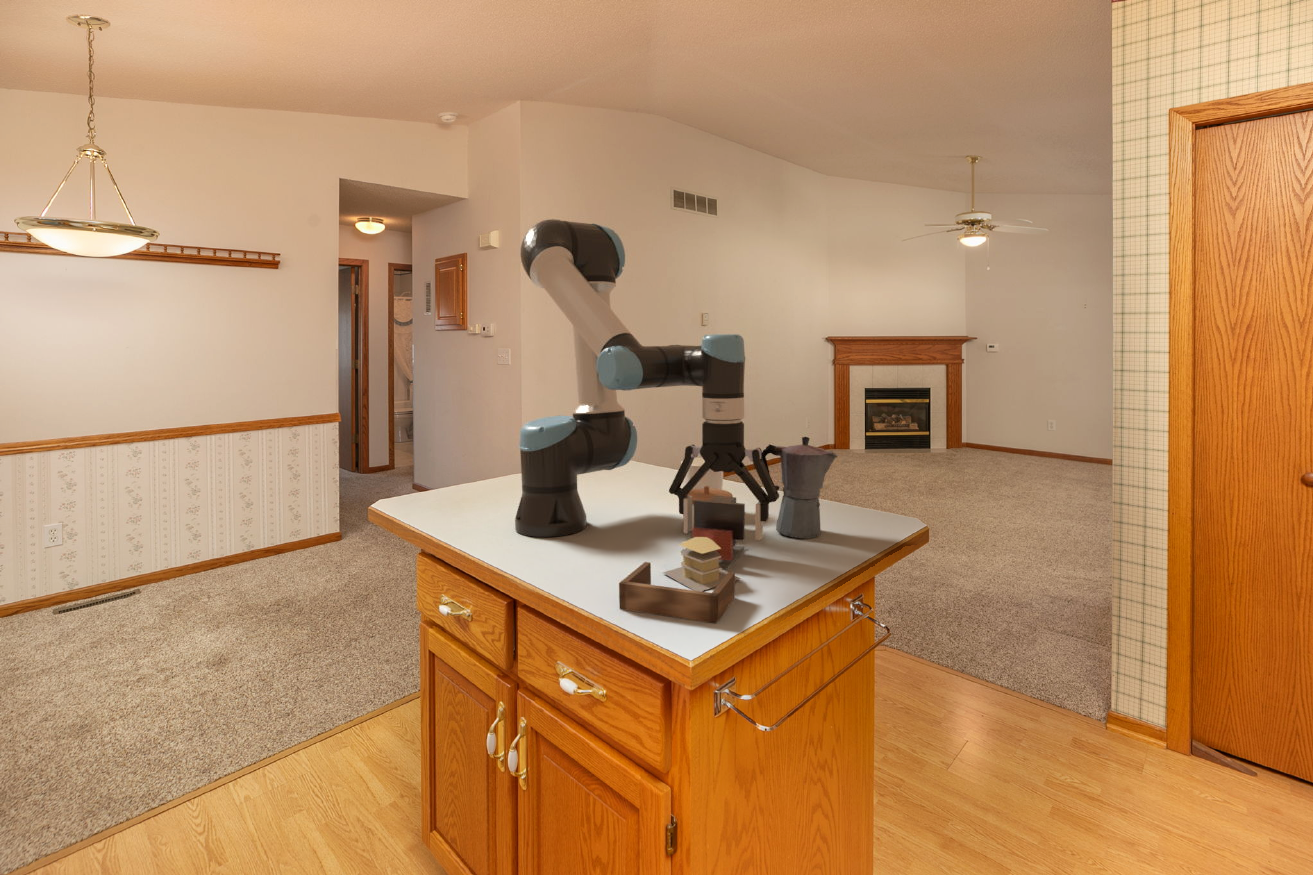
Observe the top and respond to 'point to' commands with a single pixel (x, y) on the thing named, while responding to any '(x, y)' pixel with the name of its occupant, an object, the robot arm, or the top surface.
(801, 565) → the top surface
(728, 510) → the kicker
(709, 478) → the candle holder
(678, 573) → the stacked layers on plate
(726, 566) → the grey flat block
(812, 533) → the moka pot
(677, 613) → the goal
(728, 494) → the lidded jar
